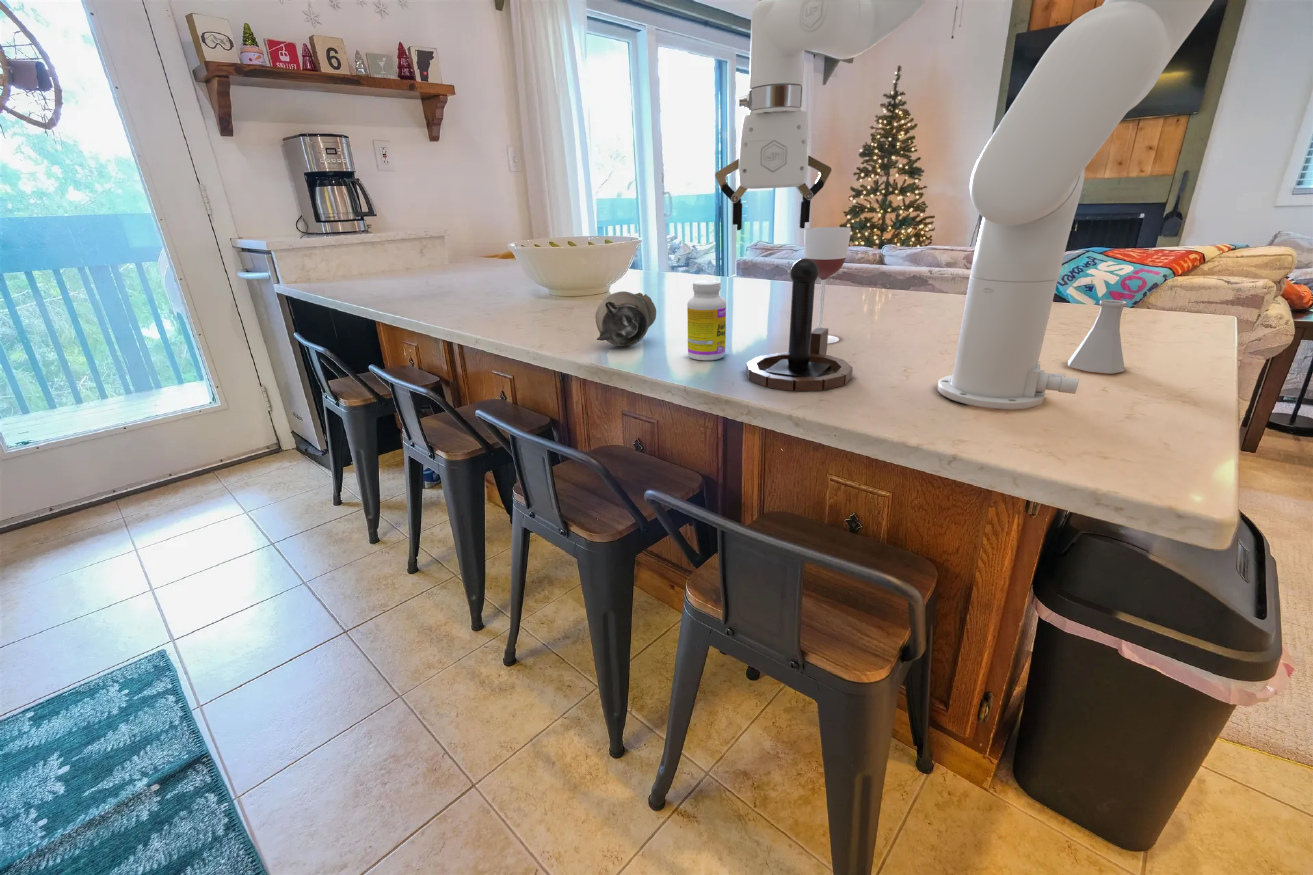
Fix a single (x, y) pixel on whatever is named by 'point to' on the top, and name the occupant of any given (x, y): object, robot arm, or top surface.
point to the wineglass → (826, 256)
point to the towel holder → (801, 325)
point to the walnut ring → (802, 383)
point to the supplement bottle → (706, 321)
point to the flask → (1102, 342)
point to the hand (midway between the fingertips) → (770, 228)
